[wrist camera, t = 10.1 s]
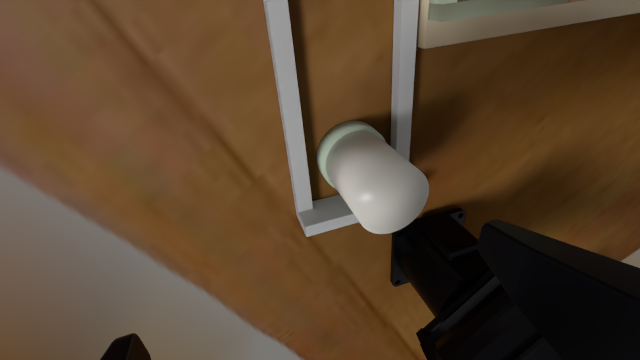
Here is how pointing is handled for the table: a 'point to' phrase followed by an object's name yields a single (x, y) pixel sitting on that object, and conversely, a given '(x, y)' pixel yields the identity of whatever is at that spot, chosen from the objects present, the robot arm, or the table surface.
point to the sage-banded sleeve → (372, 177)
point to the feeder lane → (309, 212)
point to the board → (506, 17)
